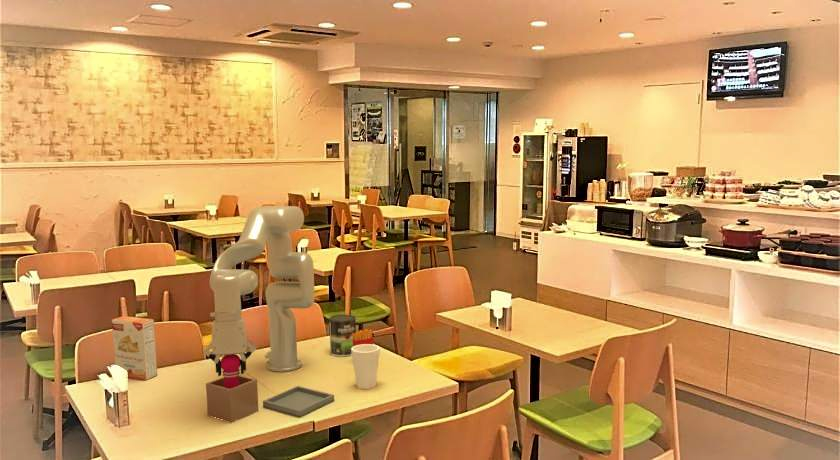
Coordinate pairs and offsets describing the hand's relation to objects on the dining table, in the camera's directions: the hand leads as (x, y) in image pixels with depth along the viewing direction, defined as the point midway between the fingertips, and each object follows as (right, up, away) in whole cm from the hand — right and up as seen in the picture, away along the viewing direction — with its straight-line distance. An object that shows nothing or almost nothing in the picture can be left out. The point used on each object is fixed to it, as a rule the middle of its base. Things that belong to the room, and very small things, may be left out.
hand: (231, 373), depth 205 cm
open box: (0, -12, +2) cm, 13 cm away
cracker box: (-44, -9, +36) cm, 57 cm away
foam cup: (+39, -9, +24) cm, 47 cm away
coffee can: (+27, -5, +60) cm, 66 cm away
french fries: (+36, -6, +50) cm, 61 cm away
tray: (+19, -11, +8) cm, 24 cm away
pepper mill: (0, -13, +2) cm, 13 cm away
